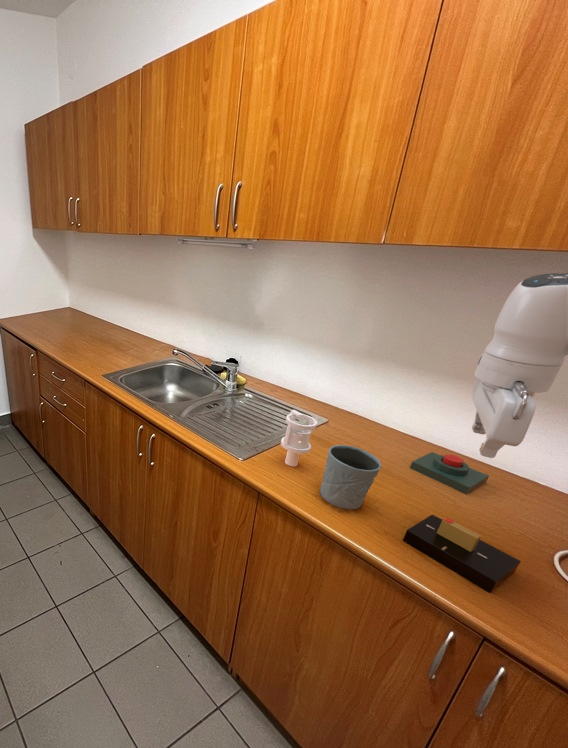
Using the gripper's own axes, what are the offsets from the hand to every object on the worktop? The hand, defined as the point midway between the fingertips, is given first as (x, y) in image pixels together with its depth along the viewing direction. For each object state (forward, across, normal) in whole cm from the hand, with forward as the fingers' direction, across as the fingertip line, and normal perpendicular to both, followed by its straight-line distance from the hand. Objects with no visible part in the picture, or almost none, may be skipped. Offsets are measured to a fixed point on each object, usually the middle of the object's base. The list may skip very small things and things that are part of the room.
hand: (481, 443), depth 71 cm
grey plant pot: (+26, +7, +17) cm, 32 cm away
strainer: (+26, +16, +29) cm, 42 cm away
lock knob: (+23, +1, -3) cm, 23 cm away
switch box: (+26, +34, -4) cm, 42 cm away
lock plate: (+26, 0, -4) cm, 26 cm away
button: (+22, +33, -4) cm, 40 cm away
